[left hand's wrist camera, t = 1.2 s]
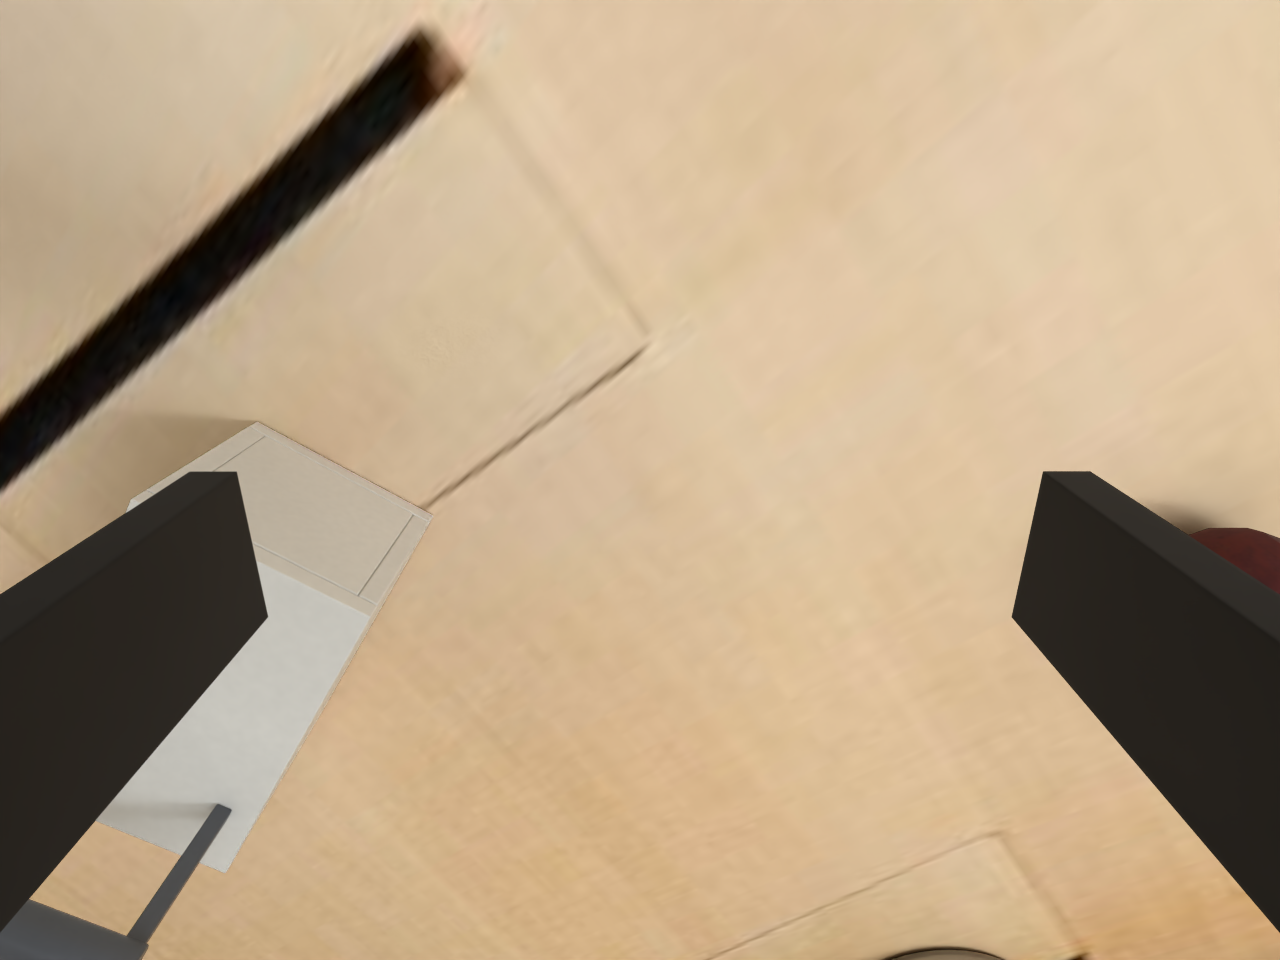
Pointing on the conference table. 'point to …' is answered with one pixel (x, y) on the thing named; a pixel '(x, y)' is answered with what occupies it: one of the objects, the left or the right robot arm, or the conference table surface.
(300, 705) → the lid
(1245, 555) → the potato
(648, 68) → the conference table surface
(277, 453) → the chest
